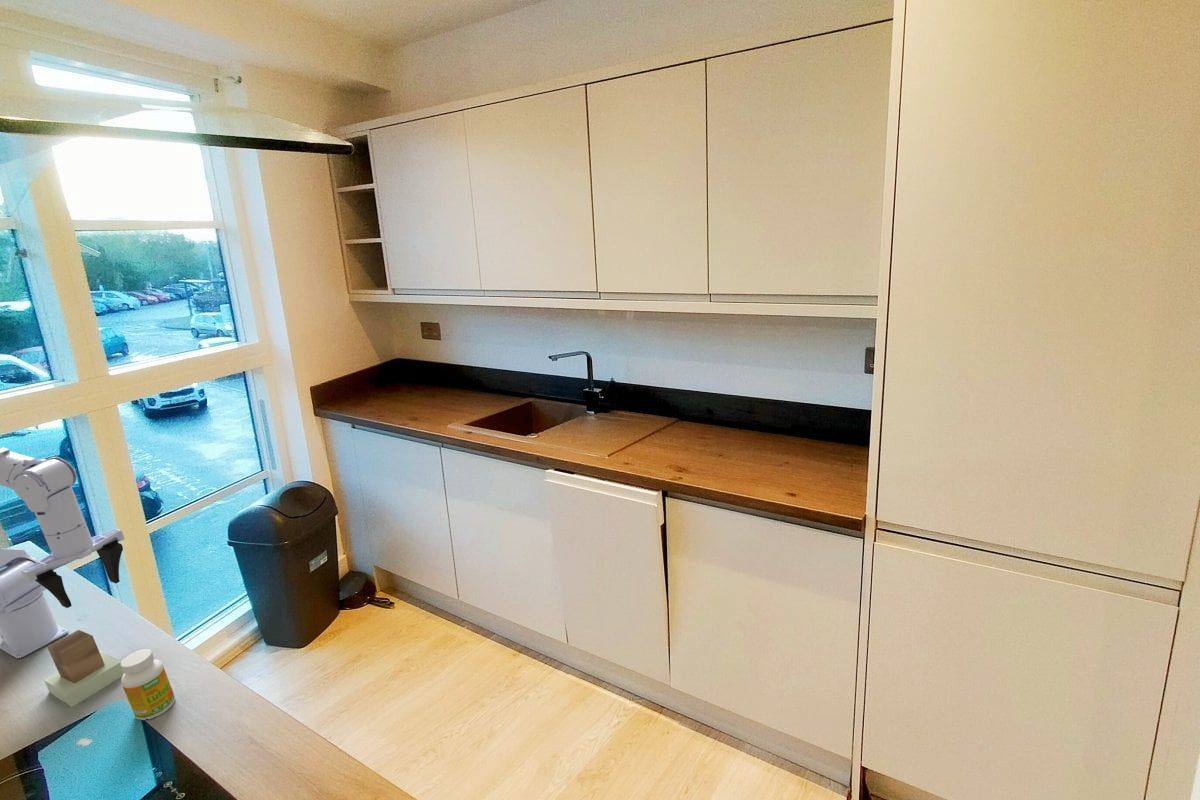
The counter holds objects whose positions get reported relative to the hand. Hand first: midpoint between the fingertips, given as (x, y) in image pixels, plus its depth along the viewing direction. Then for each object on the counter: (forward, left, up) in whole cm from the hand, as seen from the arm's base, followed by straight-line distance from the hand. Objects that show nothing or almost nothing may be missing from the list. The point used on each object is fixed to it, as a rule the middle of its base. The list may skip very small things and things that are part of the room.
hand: (91, 593), depth 113 cm
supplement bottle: (+27, -6, -11) cm, 30 cm away
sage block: (+9, -8, -11) cm, 16 cm away
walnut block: (+9, -8, -8) cm, 14 cm away
